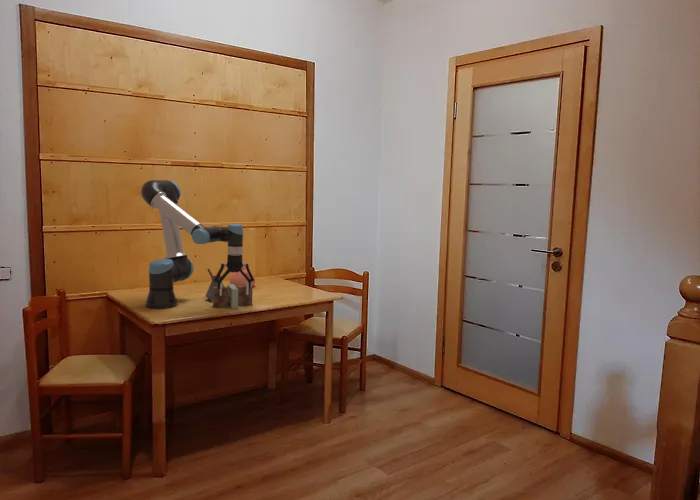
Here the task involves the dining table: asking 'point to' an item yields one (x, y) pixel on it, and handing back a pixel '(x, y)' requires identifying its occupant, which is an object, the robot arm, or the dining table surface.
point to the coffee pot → (213, 284)
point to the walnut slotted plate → (226, 299)
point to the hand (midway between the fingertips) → (233, 294)
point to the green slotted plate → (233, 296)
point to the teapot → (240, 278)
